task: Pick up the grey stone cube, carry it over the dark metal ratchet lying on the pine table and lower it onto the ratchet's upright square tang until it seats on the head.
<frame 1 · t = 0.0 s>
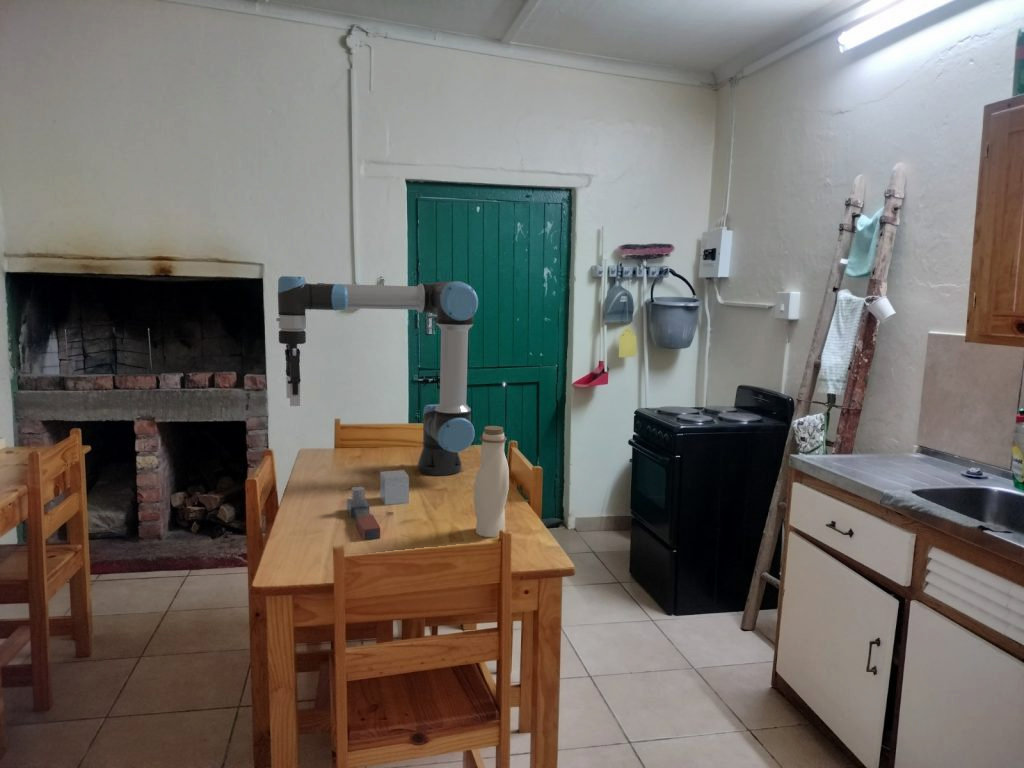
hand: (293, 401, 200), 28 cm above the table, fingers open, 13 cm apart
grey stone cube: (394, 500, 201), on the table
water bottle: (489, 531, 179), on the table
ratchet: (358, 512, 189), on the table
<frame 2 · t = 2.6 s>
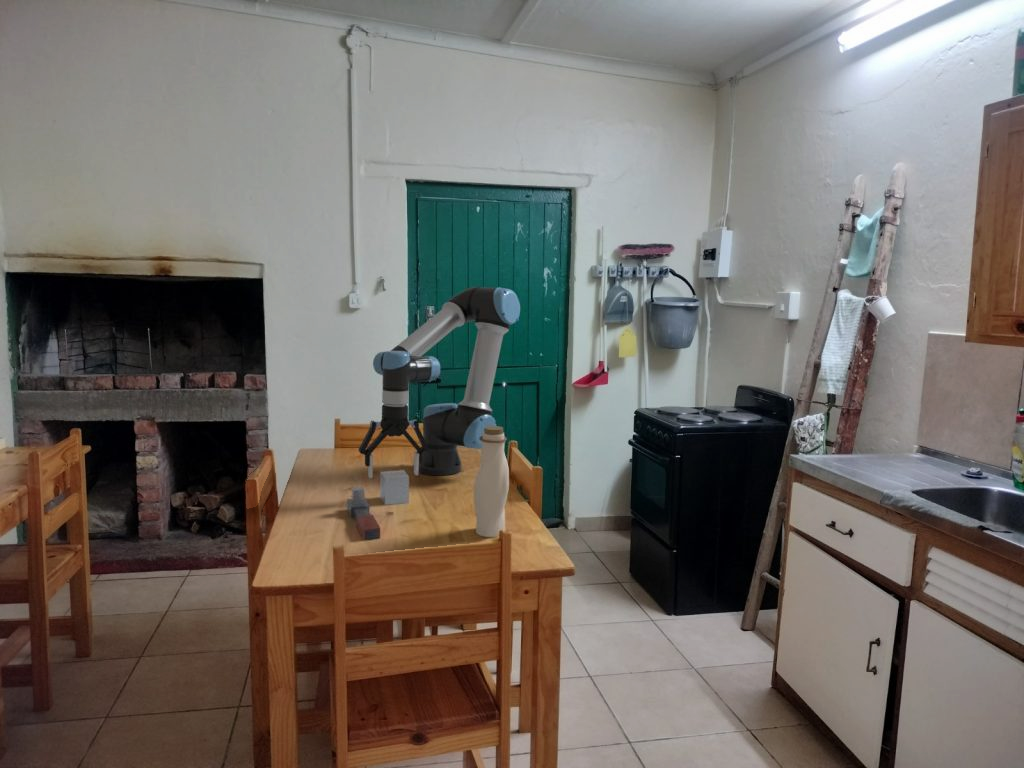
hand: (393, 475, 200), 8 cm above the table, fingers open, 13 cm apart
nothing on the table moved.
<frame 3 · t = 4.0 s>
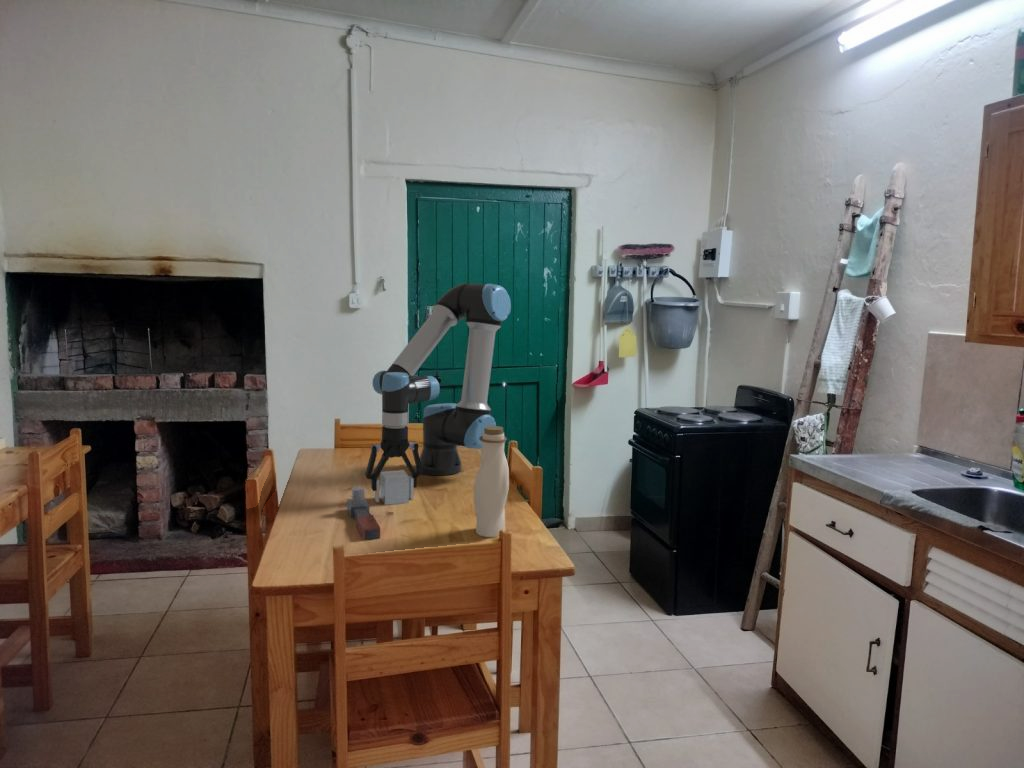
hand: (394, 499, 201), 0 cm above the table, fingers open, 9 cm apart
nothing on the table moved.
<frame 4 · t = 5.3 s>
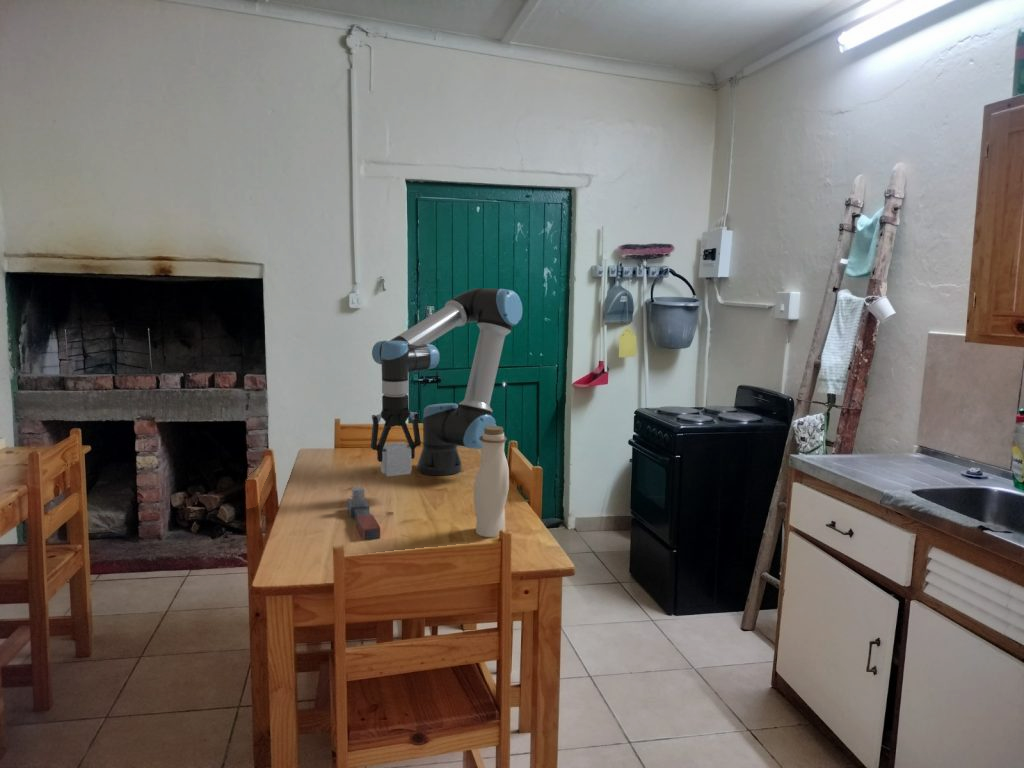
hand: (396, 470, 200), 9 cm above the table, fingers closed on grey stone cube, 7 cm apart
grey stone cube: (396, 471, 201), point 9 cm above the table, touching gripper
everything else where it was.
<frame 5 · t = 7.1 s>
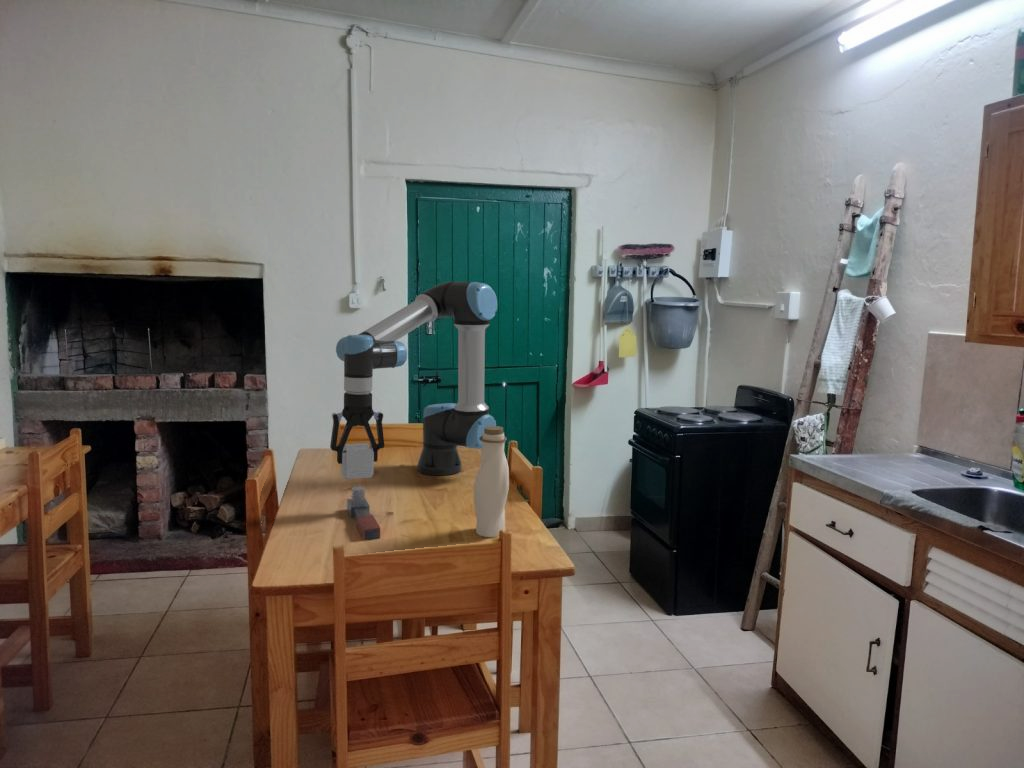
hand: (357, 473, 187), 11 cm above the table, fingers closed on grey stone cube, 7 cm apart
grey stone cube: (357, 474, 188), point 11 cm above the table, touching gripper
everything else where it was.
when the fingers open (4 cm above the table, at t = 9.2 s): grey stone cube stays where it is, resting on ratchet.
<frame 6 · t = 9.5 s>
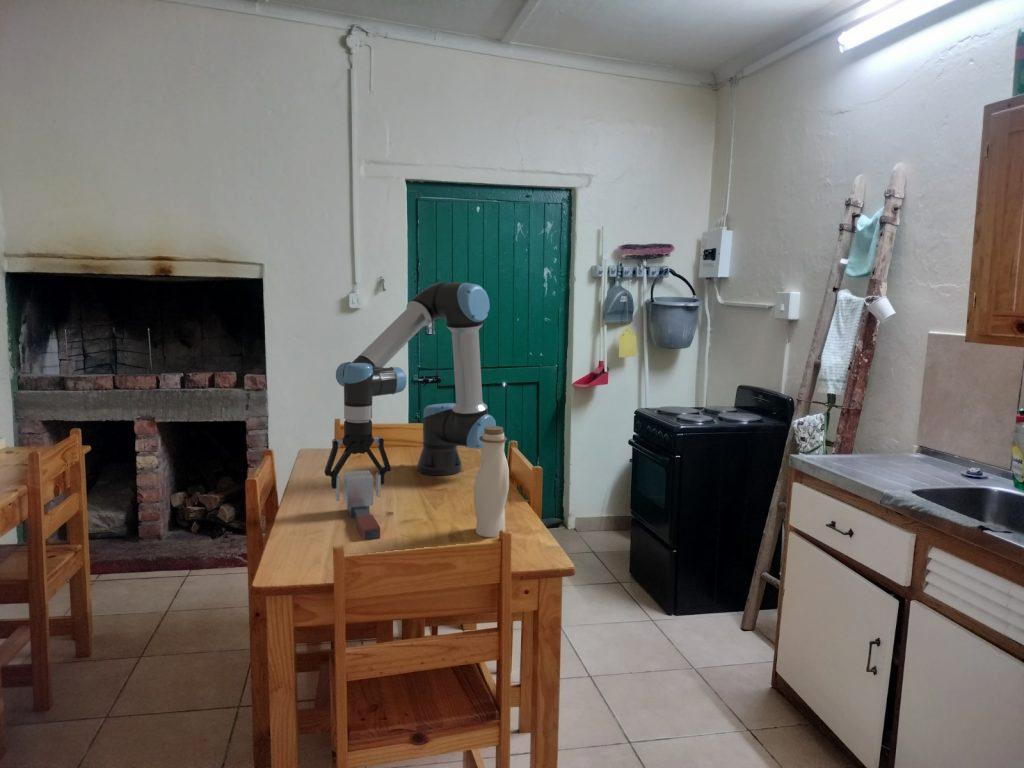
hand: (358, 497, 189), 4 cm above the table, fingers open, 10 cm apart
grey stone cube: (358, 502, 189), point 3 cm above the table, touching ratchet
everything else where it was.
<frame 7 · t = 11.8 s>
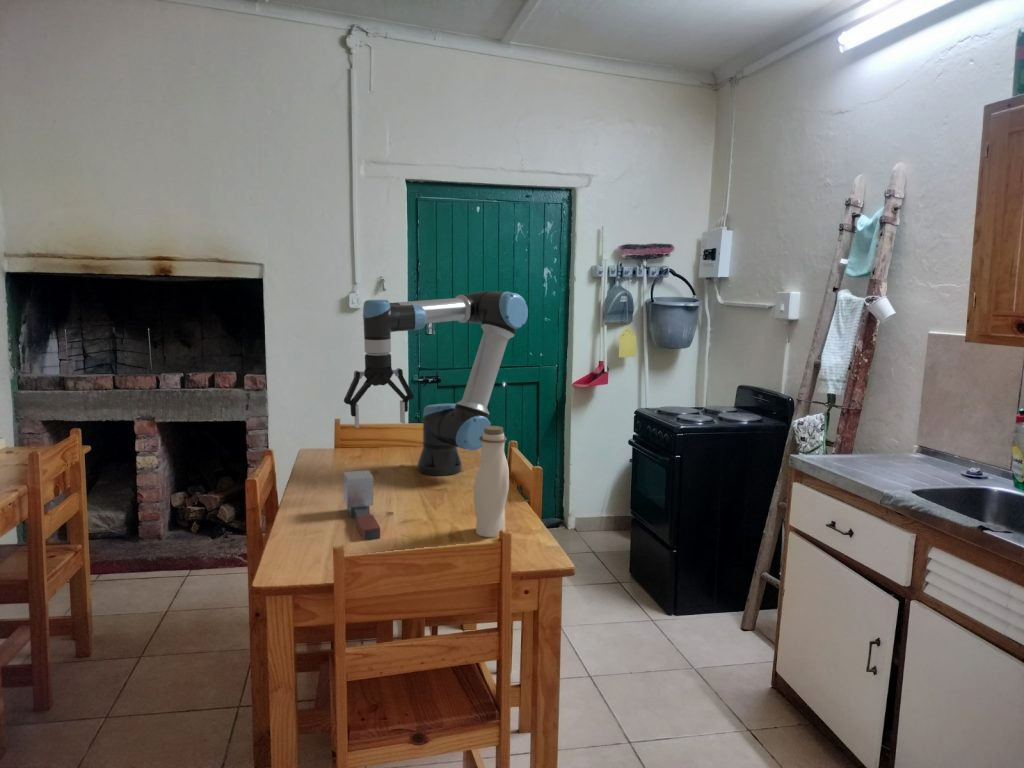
hand: (380, 424, 200), 22 cm above the table, fingers open, 13 cm apart
nothing on the table moved.
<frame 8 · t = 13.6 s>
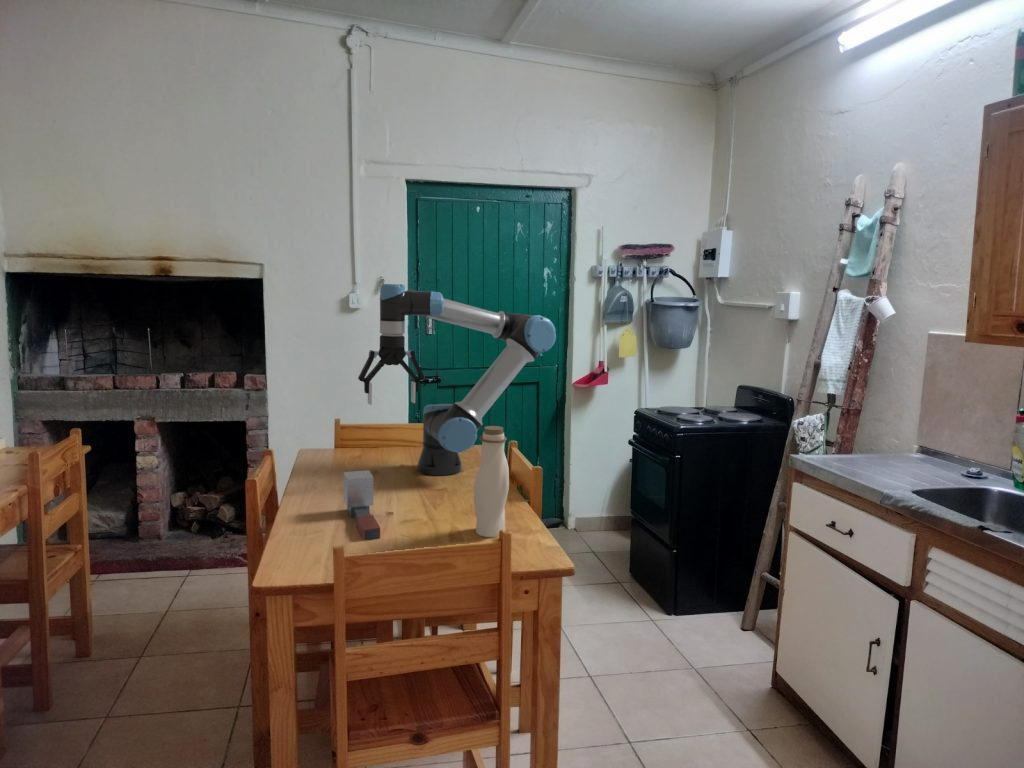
hand: (391, 403, 211), 27 cm above the table, fingers open, 13 cm apart
nothing on the table moved.
at the end: grey stone cube 0.1 cm from the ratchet (horizontally); grey stone cube point 3.0 cm above the table; grey stone cube tilted 0° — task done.
